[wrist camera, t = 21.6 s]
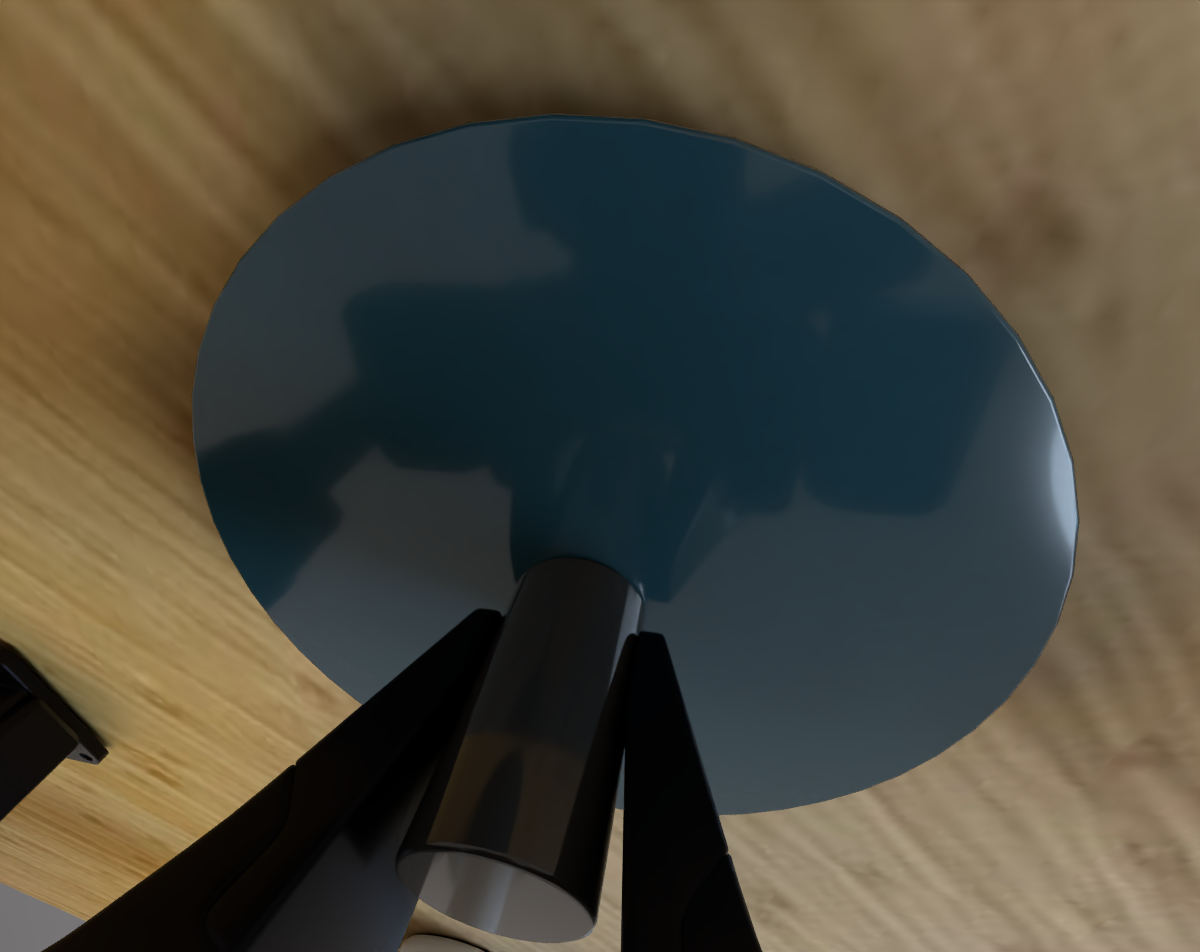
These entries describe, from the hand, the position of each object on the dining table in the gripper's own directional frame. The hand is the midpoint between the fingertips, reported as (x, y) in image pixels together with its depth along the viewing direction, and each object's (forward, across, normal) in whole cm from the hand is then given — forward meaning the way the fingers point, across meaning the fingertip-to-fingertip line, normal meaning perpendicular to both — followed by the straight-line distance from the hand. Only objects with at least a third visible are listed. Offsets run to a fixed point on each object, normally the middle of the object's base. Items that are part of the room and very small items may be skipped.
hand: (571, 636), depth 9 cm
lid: (+1, 0, 0) cm, 1 cm away
